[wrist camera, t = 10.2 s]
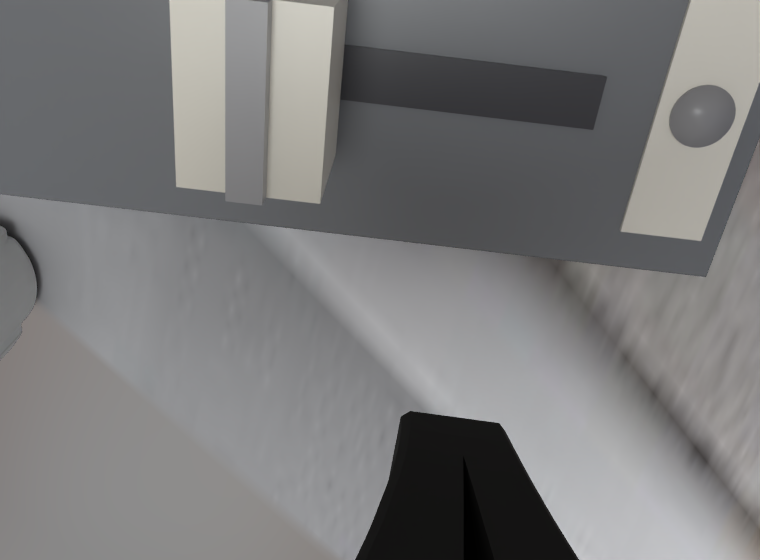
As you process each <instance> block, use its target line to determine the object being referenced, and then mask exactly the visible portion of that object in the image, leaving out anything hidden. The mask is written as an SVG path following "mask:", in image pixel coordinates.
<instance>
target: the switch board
mask: <svg viewBox="0 0 760 560" xmlns="http://www.w3.org/2000/svg"><path fill="white" fill-rule="evenodd" d="M759 137H760V0H348V7H347V20H346V32H345V45H344V57H343V70H342V82H341V95H340V107H339V119H338V132H337V144H336V155H335V158H334V161H333V165H332V168H331V171H330V174H329V177H328V181H327V184H326V187H325V190H324V193H323V196H322V200H321V203H320V204H316V203H308V202H299V201H291V200H282V199H274V198H266V199H265V201H264V203H263V205H253V204H245V203H236V202H228V201H225V193H223V192H214V191H206V190H197V189H189V188H181V187H176V169H175V141H174V114H173V87H172V59H171V32H170V5H169V0H0V194H3V195H12V196H20V197H29V198H37V199H46V200H54V201H63V202H72V203H80V204H89V205H97V206H106V207H114V208H123V209H131V210H140V211H148V212H157V213H165V214H174V215H182V216H191V217H199V218H208V219H216V220H225V221H233V222H242V223H250V224H259V225H267V226H276V227H285V228H293V229H302V230H310V231H319V232H327V233H336V234H344V235H353V236H361V237H370V238H378V239H387V240H395V241H404V242H412V243H421V244H429V245H438V246H446V247H455V248H463V249H472V250H480V251H489V252H498V253H506V254H515V255H523V256H532V257H540V258H549V259H557V260H566V261H574V262H583V263H591V264H600V265H608V266H617V267H625V268H634V269H642V270H651V271H659V272H668V273H676V274H685V275H694V276H702V277H706V276H707V273H708V270H709V268H710V265H711V263H712V260H713V257H714V255H715V252H716V249H717V247H718V244H719V242H720V239H721V236H722V234H723V231H724V229H725V226H726V223H727V221H728V218H729V216H730V213H731V210H732V208H733V205H734V203H735V200H736V197H737V195H738V192H739V190H740V187H741V184H742V182H743V179H744V177H745V174H746V171H747V169H748V166H749V163H750V161H751V158H752V156H753V153H754V150H755V148H756V145H757V143H758V140H759Z"/></svg>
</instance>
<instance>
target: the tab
mask: <svg viewBox="0 0 760 560" xmlns="http://www.w3.org/2000/svg"><path fill="white" fill-rule="evenodd" d="M169 5H170V32H171V59H172V87H173V114H174V141H175V169H176V187H181V188H189V189H197V190H206V191H214V192H223V193H225V201H228V202H236V203H245V204H253V205H263V203H264V201H265V199H266V198H274V199H282V200H291V201H299V202H308V203H316V204H320V203H321V200H322V196H323V193H324V190H325V187H326V184H327V181H328V177H329V174H330V171H331V168H332V165H333V161H334V158H335V155H336V144H337V132H338V119H339V107H340V95H341V82H342V70H343V57H344V45H345V32H346V20H347V7H348V0H169Z"/></svg>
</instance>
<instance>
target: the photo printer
mask: <svg viewBox="0 0 760 560" xmlns="http://www.w3.org/2000/svg"><path fill="white" fill-rule="evenodd" d="M36 296H37V282H36V276H35V272H34V269H33V266H32V264H31V262H30V259H29V258H28V256H27V254H26V253H25V251H24V250H23V248H22V247H21V246H20V244H19V243H18V242H17V241H16V240H15V239H14V238H12V237H10V236H7V231H6V229H5V228H4V227H2V226H0V360H1V359H2V358H3V357H4V356H5V355H6V354H7V353H8V351H10V349H11V348H12V347H13V346H14V344H15V343H16V341H17V340H18V338H19V337H20V335H21V333H22V327H21V323H22V322H23V321H24V320H25V318H27V316H28V315H29V314H30V312H31V311H32V309H33V307H34V304H35V301H36Z"/></svg>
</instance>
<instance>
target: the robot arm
mask: <svg viewBox="0 0 760 560" xmlns="http://www.w3.org/2000/svg"><path fill="white" fill-rule="evenodd" d="M355 560H579V559H578V558H577V556H576V554H575V553H574V551H573V550H572V548H571V546H570V545H569V543H568V542H567V540H566V538H565V537H564V535H563V534H562V532H561V530H560V529H559V527H558V526H557V524H556V522H555V521H554V519H553V517H552V515H551V514H550V512H549V510H548V509H547V507H546V505H545V504H544V502H543V500H542V498H541V497H540V495H539V493H538V491H537V490H536V488H535V486H534V484H533V482H532V481H531V479H530V477H529V475H528V473H527V472H526V470H525V468H524V466H523V464H522V462H521V461H520V459H519V457H518V455H517V453H516V451H515V449H514V447H513V446H512V444H511V442H510V440H509V438H508V436H507V434H506V432H505V430H504V429H503V428H502V426H501V425H500V424H499V423H494V422H487V421H479V420H472V419H465V418H457V417H450V416H442V415H435V414H428V413H420V412H413V411H410V412H408V413H407V414H405V415H403V416H401V419H400V424H399V429H398V434H397V440H396V445H395V450H394V455H393V461H392V466H391V471H390V476H389V481H388V484H387V486H386V489H385V492H384V494H383V497H382V499H381V502H380V504H379V507H378V509H377V512H376V515H375V517H374V520H373V522H372V525H371V527H370V529H369V532H368V534H367V536H366V539H365V541H364V543H363V545H362V547H361V549H360V551H359V553H358V555H357V557H356V559H355Z"/></svg>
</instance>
